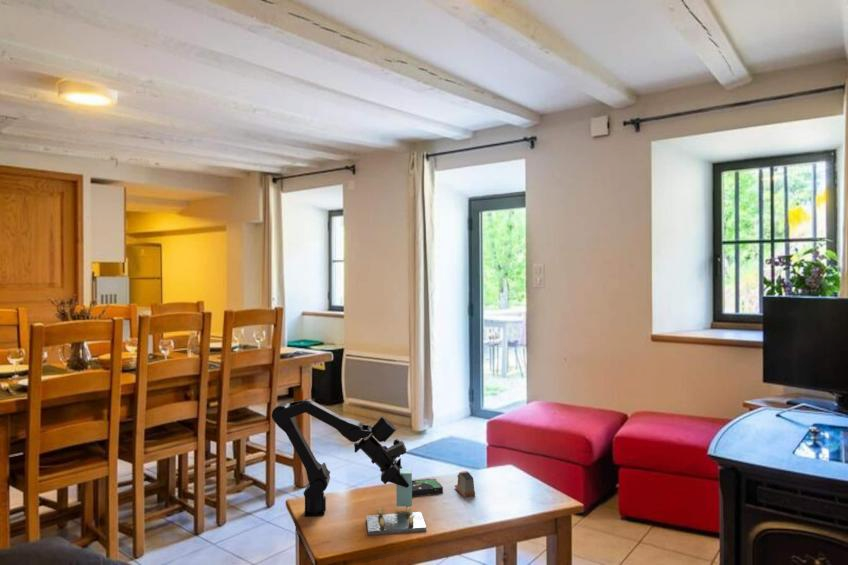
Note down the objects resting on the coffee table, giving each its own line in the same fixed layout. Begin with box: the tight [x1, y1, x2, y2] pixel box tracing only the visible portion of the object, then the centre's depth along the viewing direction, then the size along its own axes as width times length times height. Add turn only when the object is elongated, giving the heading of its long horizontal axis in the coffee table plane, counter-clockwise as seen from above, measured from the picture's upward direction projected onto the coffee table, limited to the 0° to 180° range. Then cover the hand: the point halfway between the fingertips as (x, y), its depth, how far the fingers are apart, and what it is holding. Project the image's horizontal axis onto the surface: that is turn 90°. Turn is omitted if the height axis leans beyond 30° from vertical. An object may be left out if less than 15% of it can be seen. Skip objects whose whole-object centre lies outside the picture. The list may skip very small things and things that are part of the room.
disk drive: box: [412, 478, 444, 498], centre depth 214 cm, size 10×3×15 cm
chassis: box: [365, 506, 427, 536], centre depth 184 cm, size 18×12×4 cm, turn 98°
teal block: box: [396, 467, 413, 507], centre depth 195 cm, size 5×5×11 cm
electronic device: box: [454, 470, 476, 498], centre depth 211 cm, size 4×10×8 cm, turn 20°
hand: (408, 483), depth 195 cm, fingers closed on teal block, 5 cm apart
